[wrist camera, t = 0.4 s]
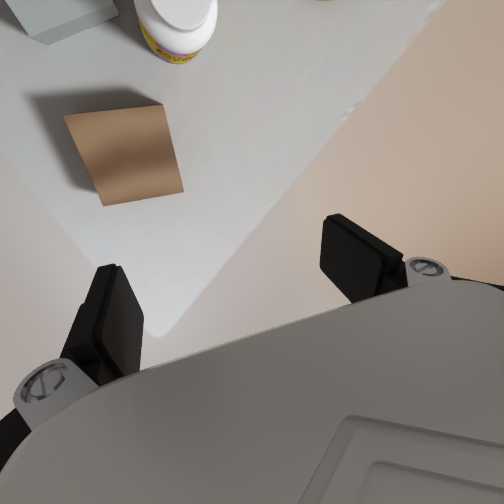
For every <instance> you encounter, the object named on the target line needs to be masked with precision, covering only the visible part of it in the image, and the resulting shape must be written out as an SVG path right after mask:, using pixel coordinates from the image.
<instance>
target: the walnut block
mask: <svg viewBox="0 0 504 504" xmlns="http://www.w3.org/2000/svg"><path fill="white" fill-rule="evenodd" d="M63 117H64V119H65V122H66V124H67V126H68V128H69V130H70V133H71V135H72V137H73V139H74V142H75V144H76V146H77V148H78V151H79V153H80V155H81V157H82V160H83V162H84V164H85V166H86V169H87V171H88V173H89V175H90V178H91V180H92V182H93V184H94V187H95V189H96V191H97V193H98V196H99V198H100V200H101V202H102V205H103V206H109V205H114V204H120V203H125V202H131V201H137V200H142V199H148V198H153V197H159V196H164V195H170V194H176V193H181V192H184V190H183V185H182V181H181V177H180V173H179V169H178V165H177V161H176V157H175V152H174V148H173V144H172V140H171V136H170V132H169V128H168V124H167V120H166V116H165V112H164V107H163V104H160V105H151V106H141V107H132V108H122V109H113V110H103V111H94V112H84V113H75V114H68V115H63Z"/></svg>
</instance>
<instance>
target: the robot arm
mask: <svg viewBox="0 0 504 504" xmlns="http://www.w3.org/2000/svg"><path fill="white" fill-rule="evenodd" d="M402 258H403V254H402V253H401V252H399V251H397V250H396V249H394V248H393V247H391V246H390V245H388V244H386V243H385V242H383V241H382V240H380V239H379V238H377V237H375V236H374V235H372V234H371V233H369V232H368V231H366V230H365V229H363V228H362V227H360V226H358V225H357V224H355V223H354V222H352V221H350V220H349V219H348V218H346V217H344V216H343V215H341V214H334V215H329V216H327V218H326V219H325V220H324V221H323V231H322V243H321V255H320V268H321V270H322V271H323V272H324V274H325V275H326V276H327V277H328V278H329V279H330V280H331V281H332V282H333V283H334V284H335V285H336V287H337V288H338V289H339V290H340V291H341V292H342V293H343V294H344V295H345V296H346V297H347V298H348V299H349V300H350V302H351V303H352V304H348V305H345V306H342V307H338V308H335V309H332V310H329V311H325V312H323V313H319V314H316V315H312V316H309V317H306V318H303V319H300V320H296V321H294V322H290V323H287V324H284V325H280V326H277V327H274V328H271V329H268V330H265V331H261V332H258V333H255V334H252V335H249V336H246V337H242V338H239V339H236V340H233V341H230V342H227V343H224V344H221V345H217V346H214V347H211V348H208V349H205V350H201V351H198V352H195V353H192V354H189V355H186V356H183V357H180V358H177V359H174V360H171V361H167V362H164V363H161V364H158V365H155V366H152V367H150V368H147V369H144V370H141V371H140V358H141V347H142V335H143V323H144V316H143V312H142V310H141V307H140V305H139V303H138V301H137V299H136V297H135V294H134V292H133V290H132V288H131V286H130V284H129V282H128V279H127V277H126V275H125V273H124V271H123V269H122V267H121V266H116V265H115V264H109V265H105V266H100V267H98V268H97V271H96V273H95V276H94V279H93V281H92V284H91V287H90V289H89V292H88V294H87V297H86V300H85V302H84V303H83V304H81V306H80V307H79V310H78V312H77V315H76V317H75V320H74V323H73V325H72V327H71V330H70V332H69V335H68V338H67V340H66V342H65V345H64V347H63V350H62V353H61V355H60V358H59V359H55V360H51V361H49V362H47V363H44V364H42V365H41V366H39V367H38V368H36V369H35V370H33V371H32V372H31V373H30V374H28V375H27V376H26V377H25V378H24V379H23V381H22V382H21V383H20V384H19V386H18V387H17V389H16V391H15V393H14V397H13V402H14V405H15V407H16V408H15V409H13V410H12V411H11V412H10V413H9V414H7V415H6V416H5V417H4V418H3V419H1V420H0V504H504V286H500V285H495V284H490V283H484V282H479V281H474V280H469V279H463V278H458V277H453V276H450V274H449V271H448V269H447V268H446V267H445V266H444V265H443V264H441V263H440V262H438V261H435V260H433V259H429V258H425V257H412V258H410V259H408V260H407V261H406V262H404V261H402Z"/></svg>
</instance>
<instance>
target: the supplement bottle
mask: <svg viewBox="0 0 504 504" xmlns="http://www.w3.org/2000/svg"><path fill="white" fill-rule="evenodd" d="M133 1H134V5H135V8H136V12H137V16H138V20H139V24H140V27H141V31H142V34H143V36H144V38H145V40H146V42H147V44H148V45H149V47H150V48H151V50H152V51H153V52H154V53H155V54H156V55H157V56H158V57H160V58H161V59H162V60H164V61H166V62H168V63H171V64H184V63H187V62H189V61H191V60H192V59H193V58H194V57H195V56H196V55H197V54H198V53H199V51H200V50H201V49H202V48H203V47H204V46H205V44H206V43H207V42H208V41H209V39H210V37H211V36H212V34H213V31H214V29H215V26H216V21H217V11H218V6H217V0H133Z"/></svg>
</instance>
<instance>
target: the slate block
mask: <svg viewBox="0 0 504 504" xmlns="http://www.w3.org/2000/svg"><path fill="white" fill-rule="evenodd" d="M5 1H6V2H7V4H8V5H9V7H10V8H11V10H12V11H13V13H14V14H15V16H16V17H17V19H18V20H19V22H20V23H21V25H22V26H23V27H24V29H25V30H26V32H27V33H28V35H29V36H30V37H31V38H33V39H35V40H37V41H39V42H41V43H44V44H46V45H49V44H51V43H54V42H56V41H59V40H61V39H63V38H66V37H68V36H71V35H73V34H76V33H78V32H80V31H83V30H85V29H88V28H90V27H92V26H95V25H97V24H100V23H102V22H104V21H107V20H109V19H112V18H114V17H117V16H119V13H118V11H117V9H116V7H115V4H114V2H113V0H5Z"/></svg>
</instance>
